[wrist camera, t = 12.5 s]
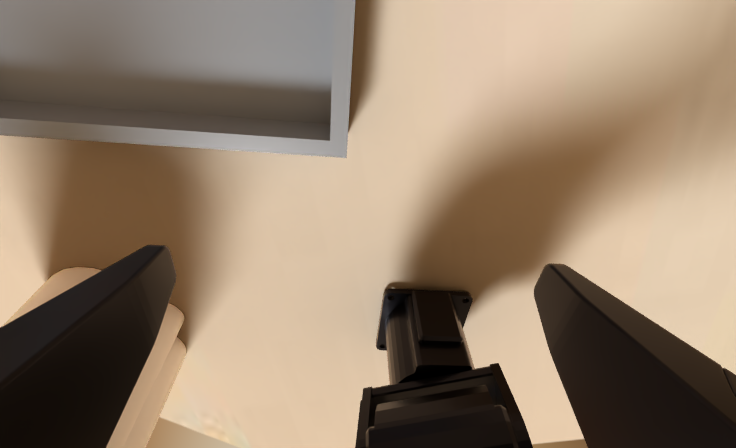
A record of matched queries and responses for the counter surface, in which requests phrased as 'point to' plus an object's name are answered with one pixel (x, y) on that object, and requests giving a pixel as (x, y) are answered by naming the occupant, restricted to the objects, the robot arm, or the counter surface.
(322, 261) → the counter surface
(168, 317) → the vase
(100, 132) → the tray
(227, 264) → the counter surface
